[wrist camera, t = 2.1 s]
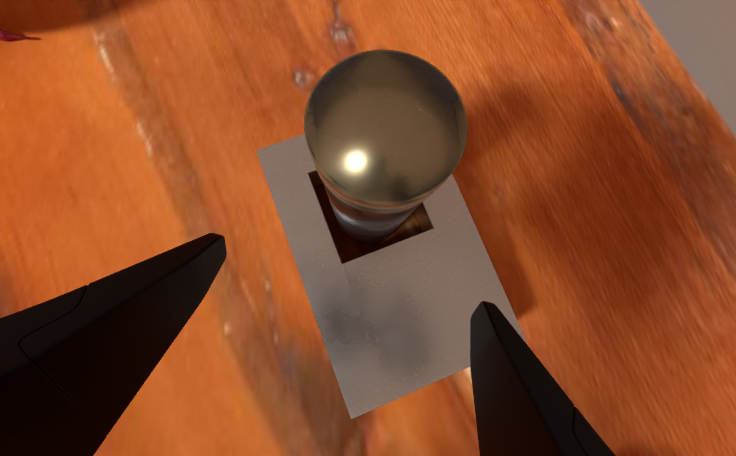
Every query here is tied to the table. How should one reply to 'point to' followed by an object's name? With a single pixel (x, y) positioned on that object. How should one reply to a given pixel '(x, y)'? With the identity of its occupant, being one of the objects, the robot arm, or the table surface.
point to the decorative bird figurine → (10, 36)
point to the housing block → (386, 286)
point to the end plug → (383, 138)
